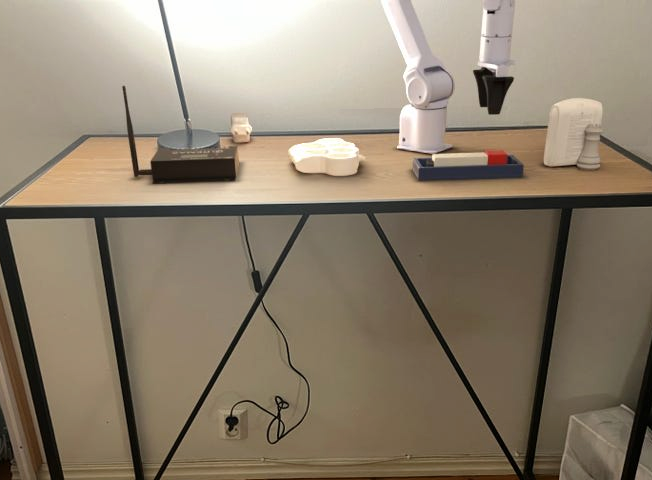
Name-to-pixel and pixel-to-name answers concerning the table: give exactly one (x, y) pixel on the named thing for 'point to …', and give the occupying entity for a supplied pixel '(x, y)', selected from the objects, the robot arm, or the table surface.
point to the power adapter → (240, 127)
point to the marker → (468, 159)
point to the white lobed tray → (327, 157)
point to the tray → (467, 170)
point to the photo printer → (569, 130)
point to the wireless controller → (185, 161)
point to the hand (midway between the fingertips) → (489, 110)
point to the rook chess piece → (591, 149)
